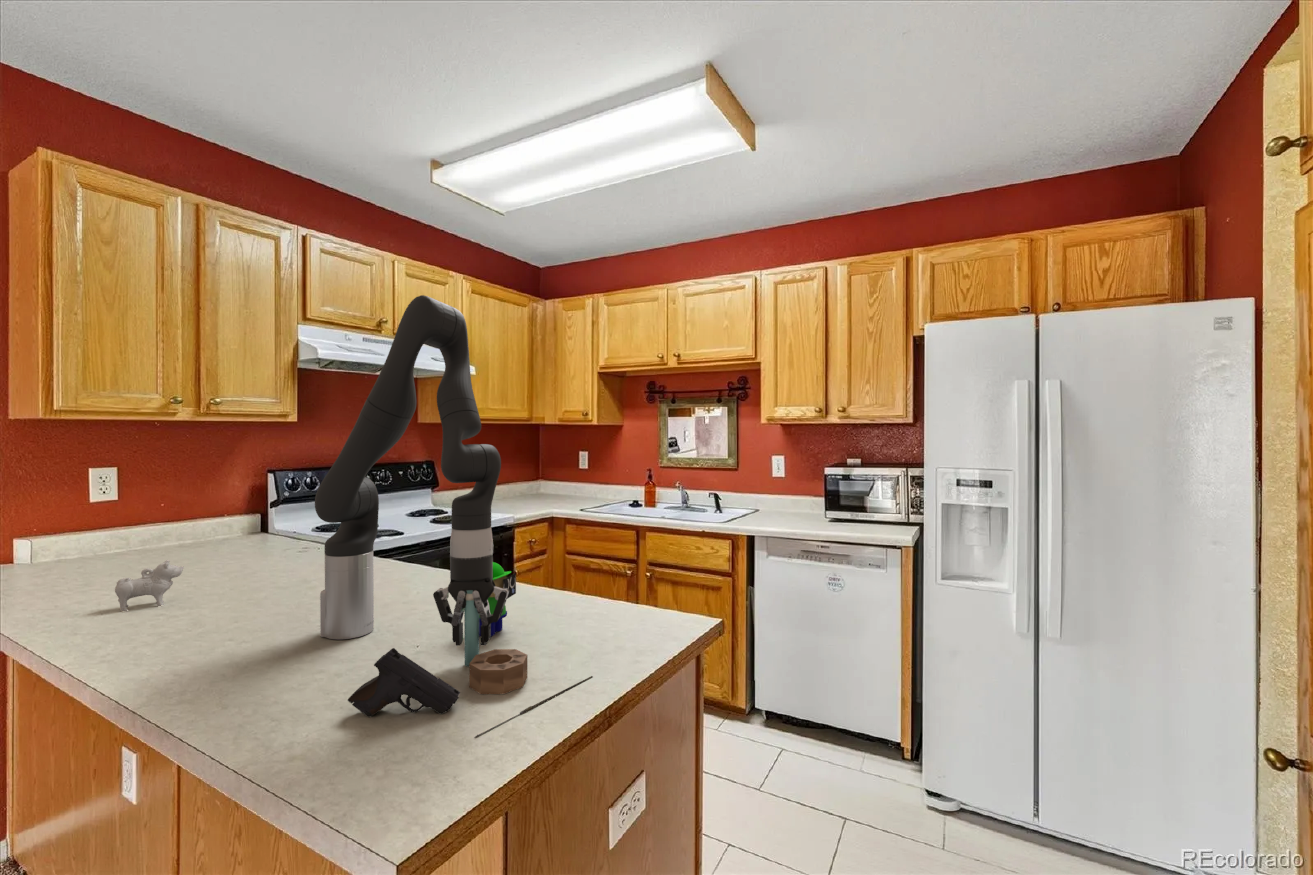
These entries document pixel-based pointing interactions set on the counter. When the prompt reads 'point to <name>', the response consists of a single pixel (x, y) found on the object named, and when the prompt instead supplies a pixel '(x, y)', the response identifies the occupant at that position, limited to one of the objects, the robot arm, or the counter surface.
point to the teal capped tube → (471, 629)
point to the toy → (501, 582)
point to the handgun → (403, 687)
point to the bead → (498, 671)
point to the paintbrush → (538, 704)
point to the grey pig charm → (148, 584)
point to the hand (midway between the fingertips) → (471, 643)
